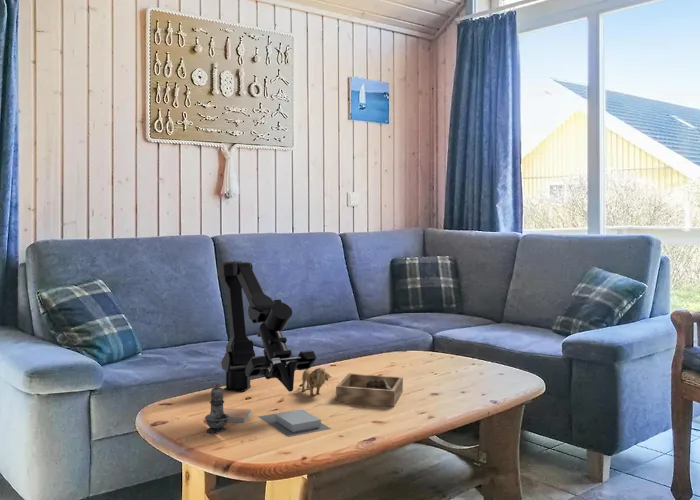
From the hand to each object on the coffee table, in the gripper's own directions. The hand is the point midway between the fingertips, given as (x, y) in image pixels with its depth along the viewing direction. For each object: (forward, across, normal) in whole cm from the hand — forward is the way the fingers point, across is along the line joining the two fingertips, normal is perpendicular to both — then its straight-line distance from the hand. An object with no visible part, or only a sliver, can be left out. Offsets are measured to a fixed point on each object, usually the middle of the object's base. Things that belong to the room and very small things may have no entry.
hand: (291, 390), depth 173 cm
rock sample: (0, -35, -13) cm, 37 cm away
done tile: (-1, +13, -14) cm, 19 cm away
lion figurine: (-8, -18, -21) cm, 29 cm away
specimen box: (-1, -31, -12) cm, 34 cm away
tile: (+4, 0, -6) cm, 7 cm away
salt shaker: (+4, +19, -8) cm, 21 cm away
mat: (+7, 0, -5) cm, 8 cm away
